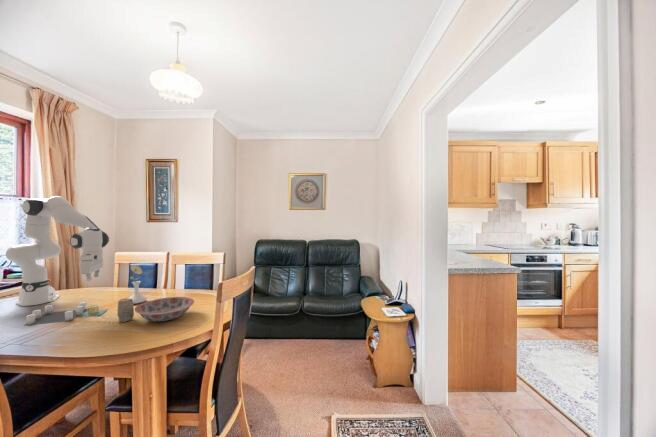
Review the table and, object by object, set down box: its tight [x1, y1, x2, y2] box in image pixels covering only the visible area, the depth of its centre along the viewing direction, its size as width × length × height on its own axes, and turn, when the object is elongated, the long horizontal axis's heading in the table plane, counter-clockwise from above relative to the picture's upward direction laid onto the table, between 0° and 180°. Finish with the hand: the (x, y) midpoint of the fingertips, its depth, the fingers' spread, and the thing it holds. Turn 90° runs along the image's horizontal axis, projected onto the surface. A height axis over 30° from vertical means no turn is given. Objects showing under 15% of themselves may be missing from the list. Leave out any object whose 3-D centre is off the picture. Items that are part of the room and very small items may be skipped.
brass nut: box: [87, 304, 100, 315], centre depth 163 cm, size 5×5×4 cm
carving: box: [116, 297, 135, 323], centre depth 154 cm, size 6×8×12 cm
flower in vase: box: [128, 264, 147, 305], centre depth 185 cm, size 13×11×25 cm
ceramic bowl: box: [134, 296, 195, 322], centre depth 158 cm, size 29×29×8 cm
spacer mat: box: [23, 301, 88, 327], centre depth 158 cm, size 20×22×5 cm
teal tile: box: [78, 309, 108, 318], centre depth 163 cm, size 10×10×1 cm
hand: (92, 278), depth 163 cm, fingers open, 8 cm apart
